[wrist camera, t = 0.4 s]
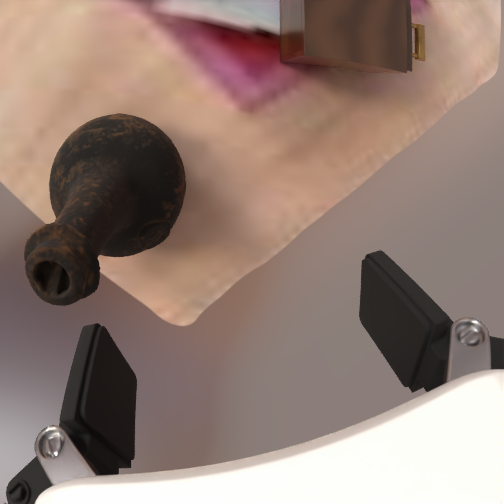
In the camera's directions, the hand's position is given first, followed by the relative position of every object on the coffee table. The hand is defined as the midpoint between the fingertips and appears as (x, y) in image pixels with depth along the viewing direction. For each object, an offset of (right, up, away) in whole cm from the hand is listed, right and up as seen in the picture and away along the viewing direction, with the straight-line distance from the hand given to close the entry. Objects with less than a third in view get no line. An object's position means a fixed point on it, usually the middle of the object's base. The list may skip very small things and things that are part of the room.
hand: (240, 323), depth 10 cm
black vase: (-18, +14, +30) cm, 38 cm away
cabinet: (+11, +35, +25) cm, 45 cm away
